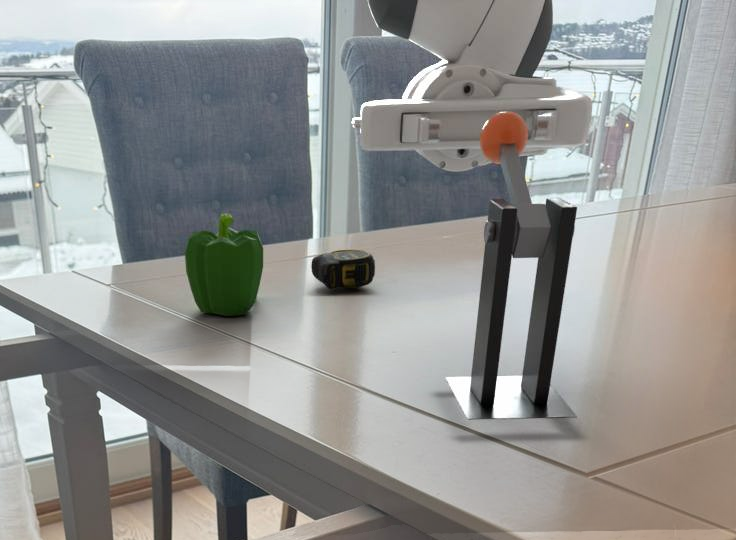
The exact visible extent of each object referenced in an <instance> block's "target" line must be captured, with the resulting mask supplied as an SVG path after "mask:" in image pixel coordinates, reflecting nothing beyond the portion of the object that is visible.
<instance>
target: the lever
mask: <svg viewBox="0 0 736 540" xmlns="http://www.w3.org/2000/svg"><path fill="white" fill-rule="evenodd" d="M527 139H528V130H527V126H526V123H525V121H524V120H523V118H522V117H521V116H519V115H518V114H516V113H514V112H510V111H503V112H499V113H497V114H495V115H493V116H492V117H491V118H490V119H489V120H488V121H487V122H486V123H485V125H484V126H483V128H482V131H481V135H480V147H481V150H482V153H483V154H484V156H485V157H486V158H487V159H488V160H489V161H491V162H492V163H493V164H496V165H500V168H501V171H502V174H503V178H504V182H505V187H506V190H507V194H508V197H509V203H510V204H511V205H513V206H514V207H516V208H517V217H516V225H515V234H514V242H513V250H512V258H513V259H536V258H537V259H538V258H543V257H544V254H545V250H546V247H547V243H548V239H549V235H550V232H551V228H552V227H551V223H550V220H549V216H548V213H547V209H546V206H545V204H546V203H533V202H532V198H531V194H530V191H529V187H528V184H527V181H526V176H525V174H524V170H523V166H522V162H521V159H520V157H519V155H520V154H521V153H522V152H523V150H524V148H525V146H526V143H527Z"/></svg>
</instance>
